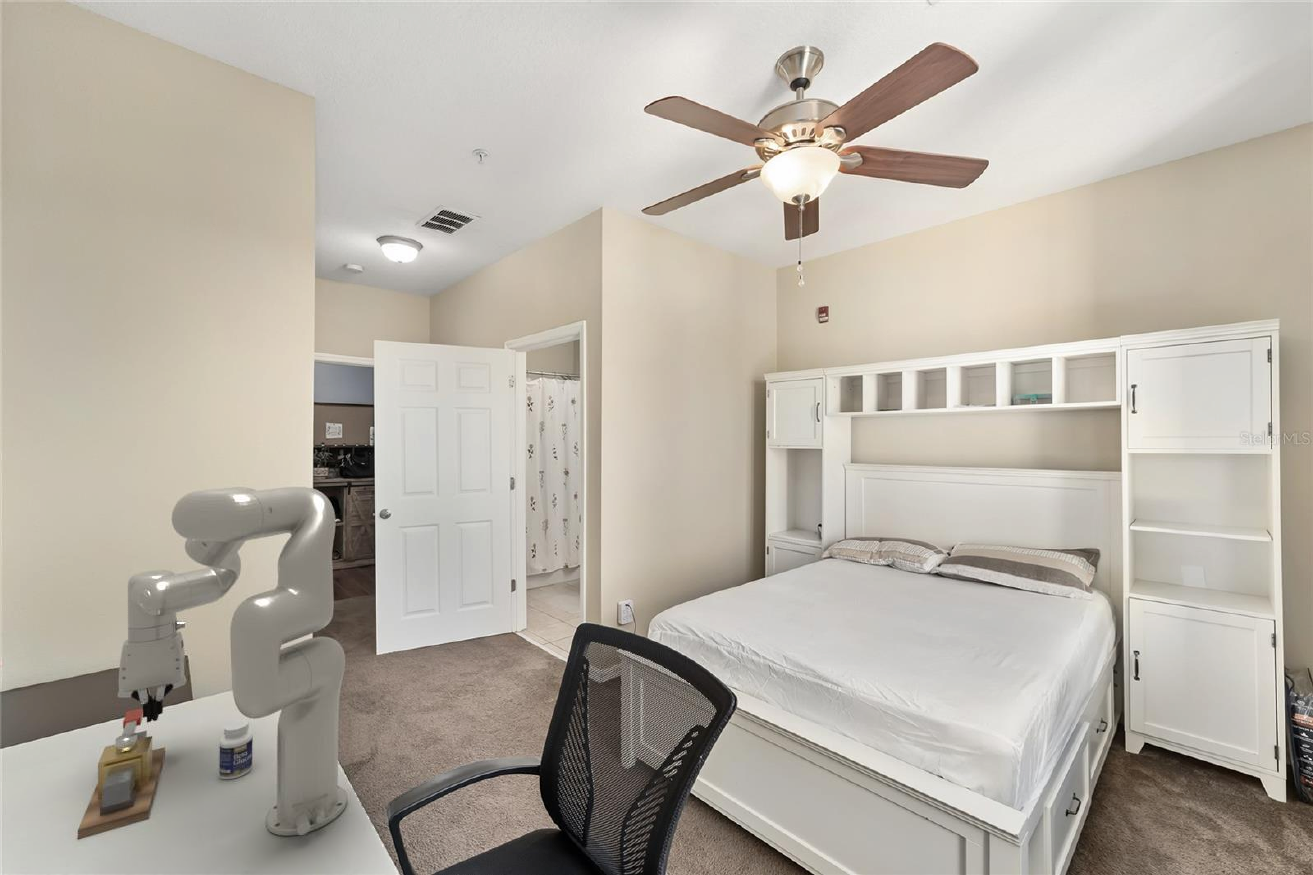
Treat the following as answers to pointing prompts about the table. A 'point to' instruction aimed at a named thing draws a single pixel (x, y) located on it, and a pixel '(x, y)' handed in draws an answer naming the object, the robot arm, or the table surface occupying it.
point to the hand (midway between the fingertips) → (153, 718)
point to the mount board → (138, 812)
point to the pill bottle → (235, 750)
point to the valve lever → (129, 730)
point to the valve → (124, 774)
